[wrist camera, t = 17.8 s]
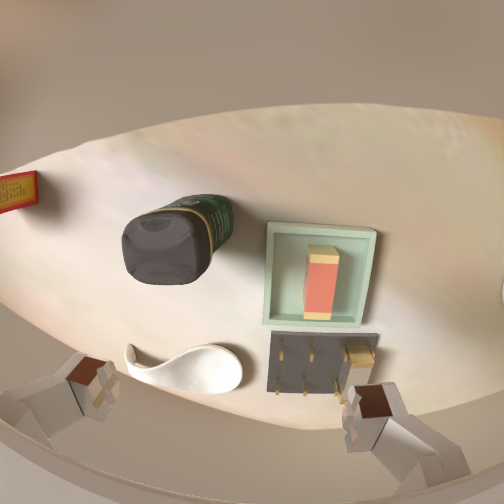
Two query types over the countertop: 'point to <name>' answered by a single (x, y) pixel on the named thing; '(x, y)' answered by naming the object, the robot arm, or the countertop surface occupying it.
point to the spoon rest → (192, 370)
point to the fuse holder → (319, 362)
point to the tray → (293, 271)
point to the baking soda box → (18, 191)
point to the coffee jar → (177, 239)
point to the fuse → (319, 281)
